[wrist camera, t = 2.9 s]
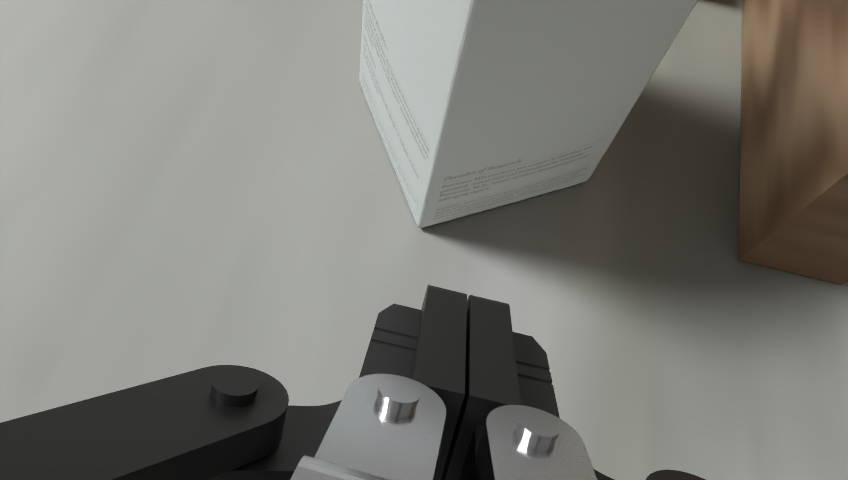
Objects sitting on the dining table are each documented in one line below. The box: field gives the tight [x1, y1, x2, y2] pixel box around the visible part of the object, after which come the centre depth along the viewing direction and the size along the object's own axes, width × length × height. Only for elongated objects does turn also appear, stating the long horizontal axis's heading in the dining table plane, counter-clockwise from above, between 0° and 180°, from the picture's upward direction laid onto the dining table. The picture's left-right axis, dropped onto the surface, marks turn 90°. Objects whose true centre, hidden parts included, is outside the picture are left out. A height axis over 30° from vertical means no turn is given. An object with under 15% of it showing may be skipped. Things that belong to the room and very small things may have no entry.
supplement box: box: [359, 0, 698, 228], centre depth 23 cm, size 7×7×13 cm
